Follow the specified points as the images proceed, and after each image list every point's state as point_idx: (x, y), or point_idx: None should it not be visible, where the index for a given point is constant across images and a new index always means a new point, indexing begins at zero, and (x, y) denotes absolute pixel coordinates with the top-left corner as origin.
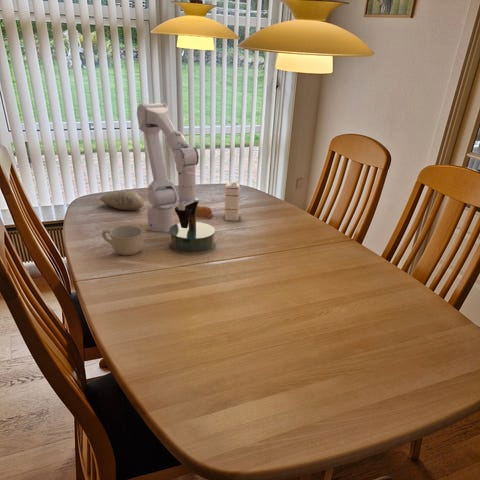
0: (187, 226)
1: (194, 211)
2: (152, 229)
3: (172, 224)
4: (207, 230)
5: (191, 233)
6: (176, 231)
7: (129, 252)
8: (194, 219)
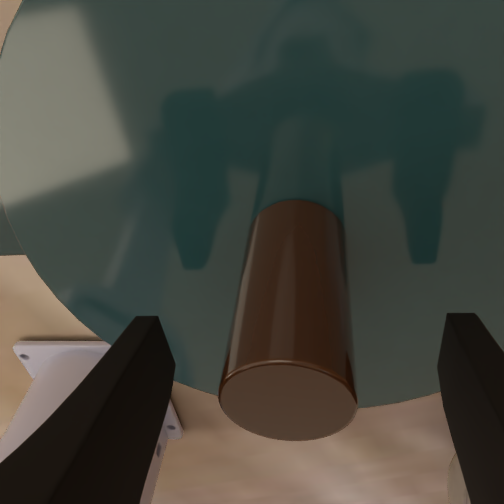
0: (483, 329)
1: (95, 429)
2: (172, 423)
3: (76, 377)
4: (229, 33)
5: (435, 214)
6: (408, 356)
7: None
8: (328, 336)
